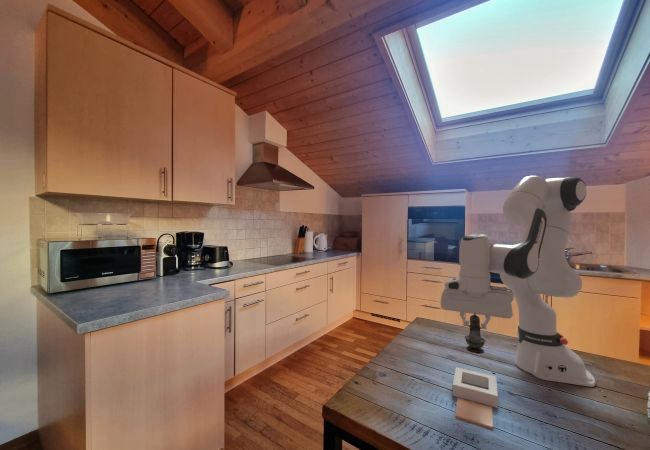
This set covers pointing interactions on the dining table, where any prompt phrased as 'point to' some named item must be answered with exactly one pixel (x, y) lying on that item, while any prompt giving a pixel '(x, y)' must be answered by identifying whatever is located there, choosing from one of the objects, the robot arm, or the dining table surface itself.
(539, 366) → the robot arm
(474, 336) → the dark turned stone ornament
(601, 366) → the dining table surface
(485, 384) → the socket block
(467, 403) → the terracotta tile
